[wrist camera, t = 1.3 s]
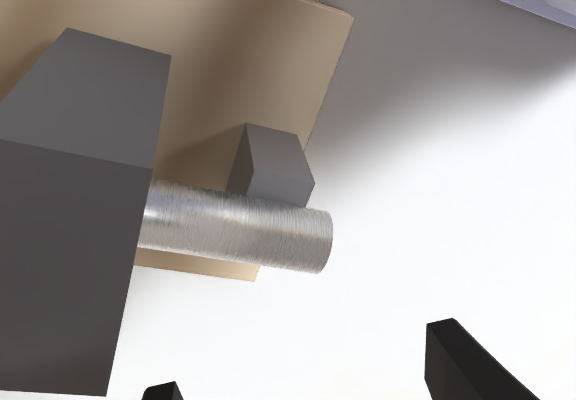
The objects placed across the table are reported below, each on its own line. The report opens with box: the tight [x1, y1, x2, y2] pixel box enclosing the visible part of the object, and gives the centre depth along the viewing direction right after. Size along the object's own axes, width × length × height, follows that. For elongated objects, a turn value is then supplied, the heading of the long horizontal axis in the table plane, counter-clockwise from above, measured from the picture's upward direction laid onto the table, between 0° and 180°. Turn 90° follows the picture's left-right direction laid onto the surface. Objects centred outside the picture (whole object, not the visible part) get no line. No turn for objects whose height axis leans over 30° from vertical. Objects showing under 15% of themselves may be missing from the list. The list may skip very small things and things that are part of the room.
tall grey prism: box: [0, 27, 172, 397], centre depth 13 cm, size 3×7×7 cm, turn 162°
